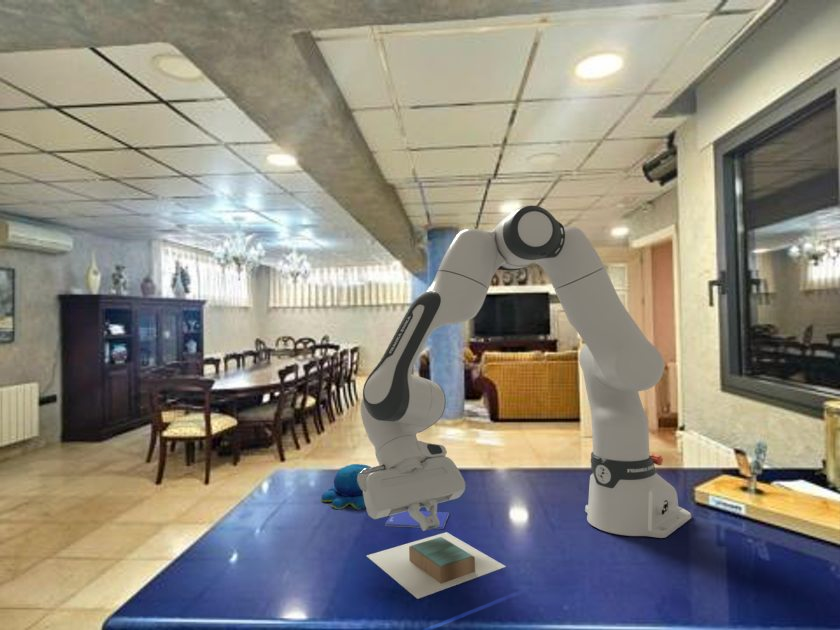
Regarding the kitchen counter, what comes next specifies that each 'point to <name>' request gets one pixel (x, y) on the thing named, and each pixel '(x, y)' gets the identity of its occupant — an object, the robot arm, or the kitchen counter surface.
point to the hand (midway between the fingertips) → (431, 527)
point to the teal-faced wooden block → (441, 559)
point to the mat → (420, 581)
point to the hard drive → (407, 521)
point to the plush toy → (346, 488)
